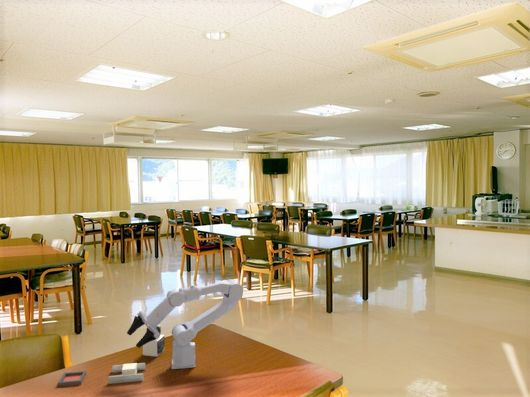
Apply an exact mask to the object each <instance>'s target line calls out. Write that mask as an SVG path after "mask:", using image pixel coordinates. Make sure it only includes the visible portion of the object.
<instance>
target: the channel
mask: <svg viewBox="0 0 530 397" xmlns="http://www.w3.org/2000/svg"><path fill="white" fill-rule="evenodd" d="M136 363H137V362H136ZM123 365H124V364H114V365H112V366H111V368H112V373H113V374H114V373H122V368H123ZM138 371H146V362H140V363H137V372H138ZM143 381H144V373H143V372H142V373H141V372H139V373H137V374H127V375H122V374H119V375H118V374H117V375H109V376H108V385H109V384H111V385H112V384H120V383H133V382H143Z"/></svg>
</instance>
